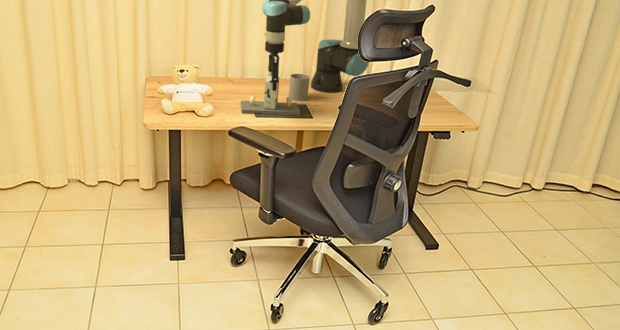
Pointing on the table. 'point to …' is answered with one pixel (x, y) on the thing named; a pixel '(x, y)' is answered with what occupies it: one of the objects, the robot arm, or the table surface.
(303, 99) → the cup
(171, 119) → the table surface
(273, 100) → the ink box
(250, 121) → the table surface
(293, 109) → the board
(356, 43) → the robot arm
